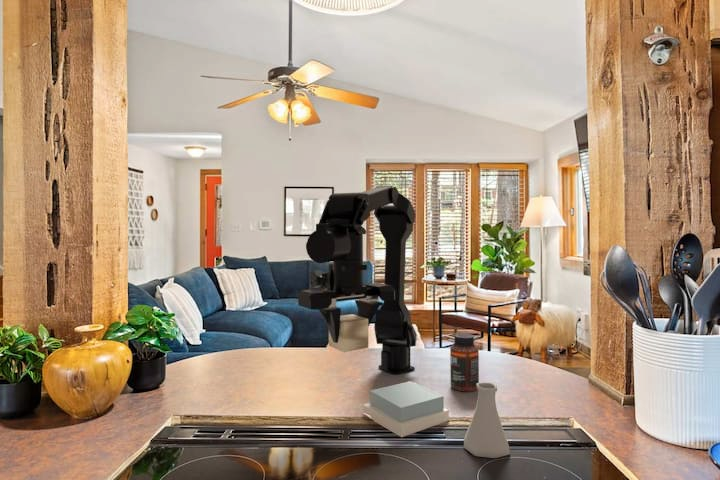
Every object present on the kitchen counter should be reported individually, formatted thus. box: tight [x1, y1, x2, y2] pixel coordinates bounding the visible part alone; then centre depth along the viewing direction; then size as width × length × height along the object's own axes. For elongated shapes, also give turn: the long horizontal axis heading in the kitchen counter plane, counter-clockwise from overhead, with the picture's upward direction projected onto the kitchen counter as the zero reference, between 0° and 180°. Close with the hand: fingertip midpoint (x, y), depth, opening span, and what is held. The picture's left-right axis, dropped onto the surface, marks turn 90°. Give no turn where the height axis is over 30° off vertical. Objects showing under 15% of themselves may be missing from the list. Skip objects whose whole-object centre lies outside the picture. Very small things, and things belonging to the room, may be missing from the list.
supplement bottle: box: [449, 332, 480, 392], centre depth 98 cm, size 6×6×11 cm
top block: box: [369, 380, 445, 422], centre depth 83 cm, size 10×10×2 cm
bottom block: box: [362, 402, 450, 438], centre depth 83 cm, size 11×11×2 cm
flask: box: [463, 381, 511, 459], centre depth 72 cm, size 7×7×10 cm
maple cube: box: [328, 313, 369, 353], centre depth 88 cm, size 6×6×6 cm
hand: (348, 340), depth 88 cm, fingers closed on maple cube, 5 cm apart
